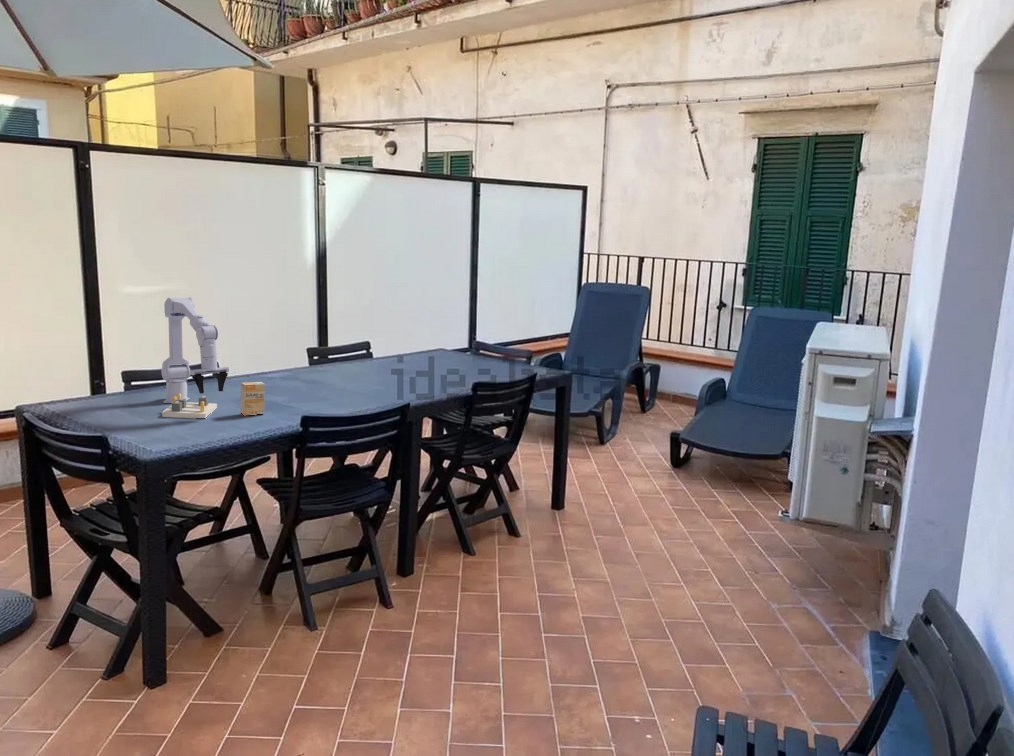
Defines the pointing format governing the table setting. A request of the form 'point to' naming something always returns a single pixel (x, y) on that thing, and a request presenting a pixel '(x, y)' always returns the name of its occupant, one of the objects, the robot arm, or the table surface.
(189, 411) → the switch panel
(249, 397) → the supplement box
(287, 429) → the table surface
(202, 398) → the rear knob
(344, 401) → the table surface
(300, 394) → the table surface
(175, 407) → the front knob
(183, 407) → the middle knob
